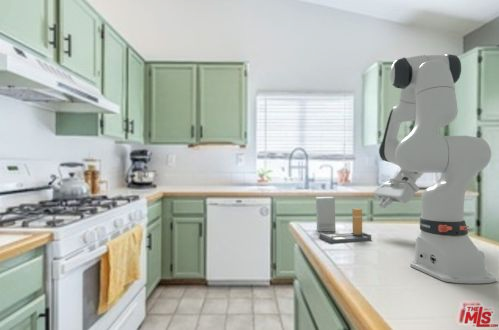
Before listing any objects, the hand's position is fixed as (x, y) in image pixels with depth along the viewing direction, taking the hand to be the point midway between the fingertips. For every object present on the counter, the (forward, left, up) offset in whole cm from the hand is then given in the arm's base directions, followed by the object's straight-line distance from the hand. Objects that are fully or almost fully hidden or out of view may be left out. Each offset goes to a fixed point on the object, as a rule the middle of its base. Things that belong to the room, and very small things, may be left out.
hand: (381, 206), depth 148 cm
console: (-5, +17, -13) cm, 21 cm away
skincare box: (+14, +21, -13) cm, 28 cm away
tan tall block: (-3, +11, -11) cm, 16 cm away
